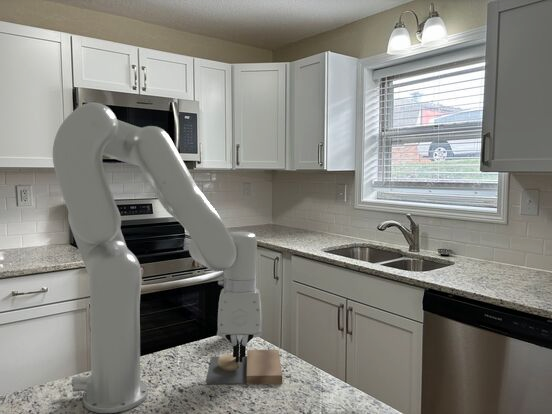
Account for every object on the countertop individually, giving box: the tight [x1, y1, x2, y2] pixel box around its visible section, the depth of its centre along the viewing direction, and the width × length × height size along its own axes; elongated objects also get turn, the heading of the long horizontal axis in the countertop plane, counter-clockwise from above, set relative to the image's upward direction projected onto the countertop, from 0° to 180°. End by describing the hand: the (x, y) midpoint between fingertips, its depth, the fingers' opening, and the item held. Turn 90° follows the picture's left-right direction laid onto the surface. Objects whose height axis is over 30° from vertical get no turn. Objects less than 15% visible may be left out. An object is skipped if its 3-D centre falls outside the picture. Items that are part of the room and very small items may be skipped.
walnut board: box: [246, 349, 283, 385], centre depth 103 cm, size 8×14×2 cm, turn 3°
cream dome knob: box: [218, 353, 239, 372], centre depth 104 cm, size 5×5×2 cm
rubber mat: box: [205, 355, 248, 386], centre depth 103 cm, size 9×14×1 cm, turn 3°
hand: (239, 359), depth 103 cm, fingers closed
